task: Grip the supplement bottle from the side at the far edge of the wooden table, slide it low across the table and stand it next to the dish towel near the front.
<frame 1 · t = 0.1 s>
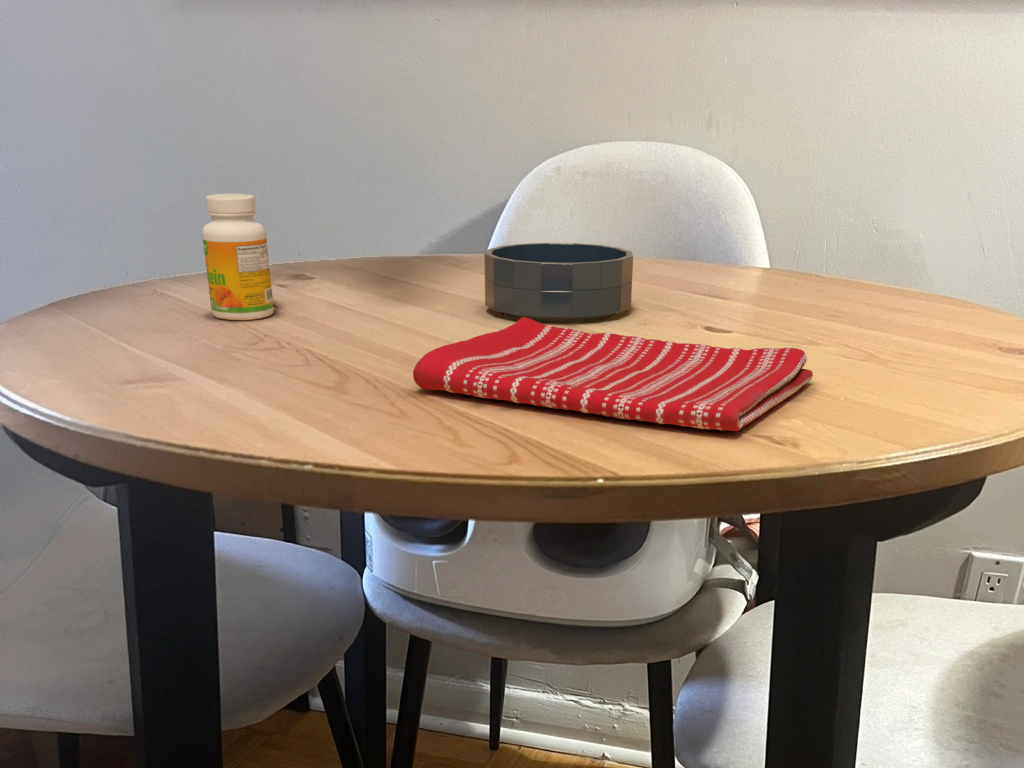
supplement bottle: (243, 317, 103), on the table
fruit bowl: (558, 310, 106), on the table
dish towel: (613, 391, 80), on the table
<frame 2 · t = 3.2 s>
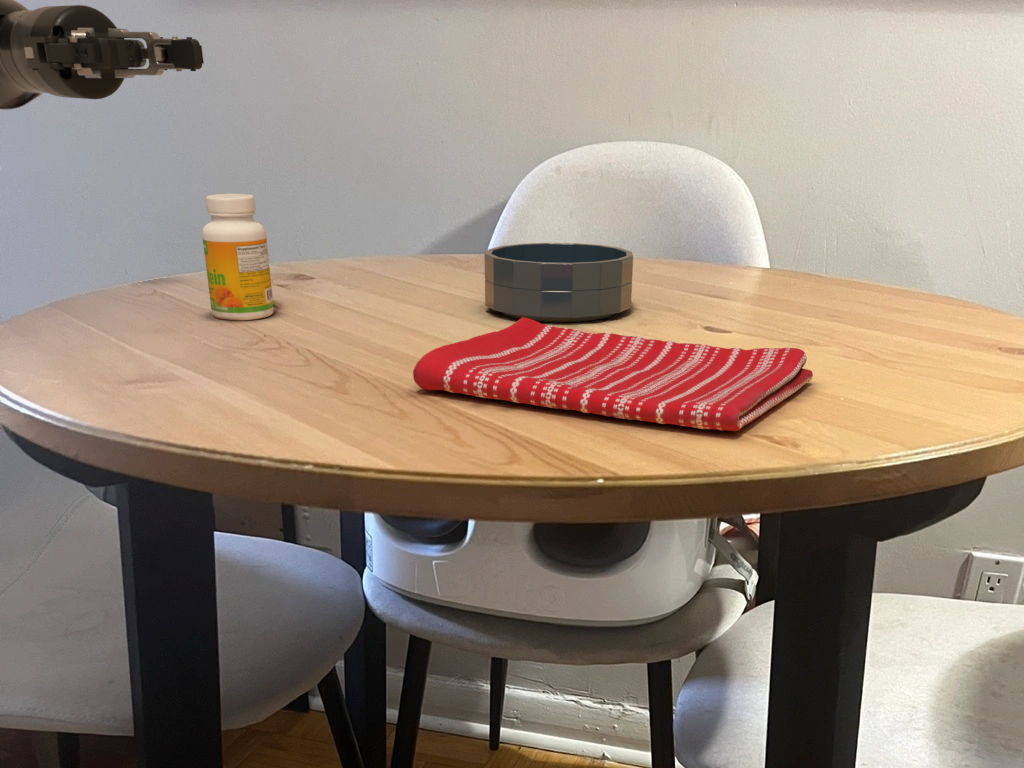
hand: (153, 54, 99), 20 cm above the table, tool horizontal, fingers open, 8 cm apart
nothing on the table moved.
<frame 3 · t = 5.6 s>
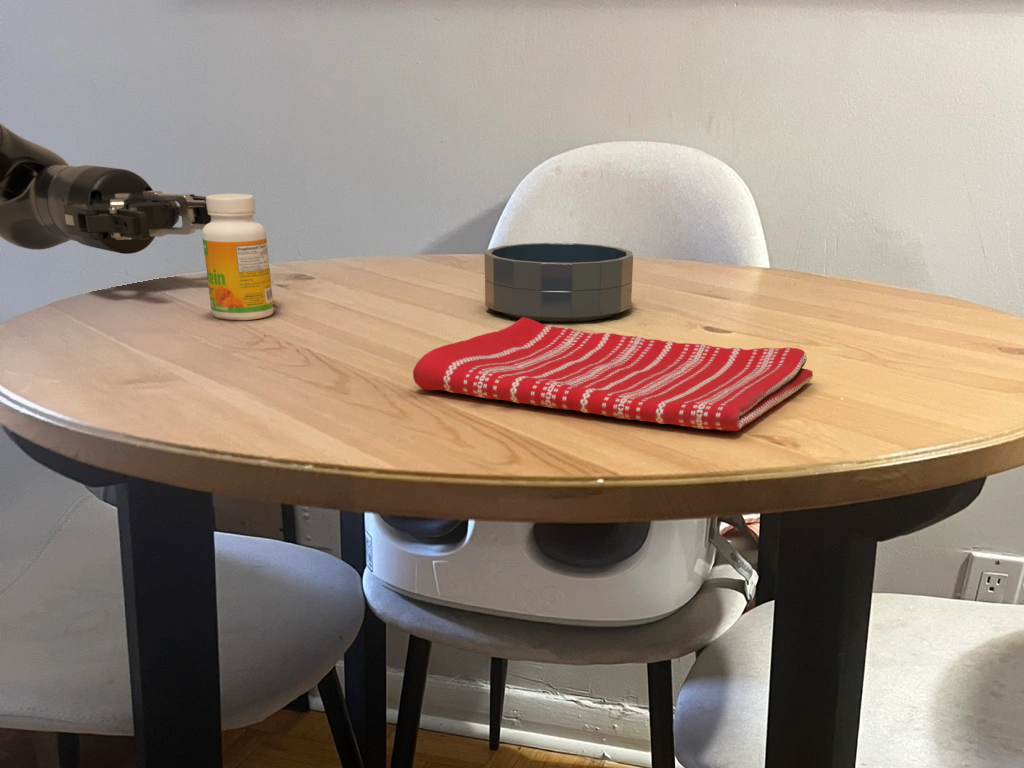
hand: (188, 222, 103), 7 cm above the table, tool horizontal, fingers open, 8 cm apart
nothing on the table moved.
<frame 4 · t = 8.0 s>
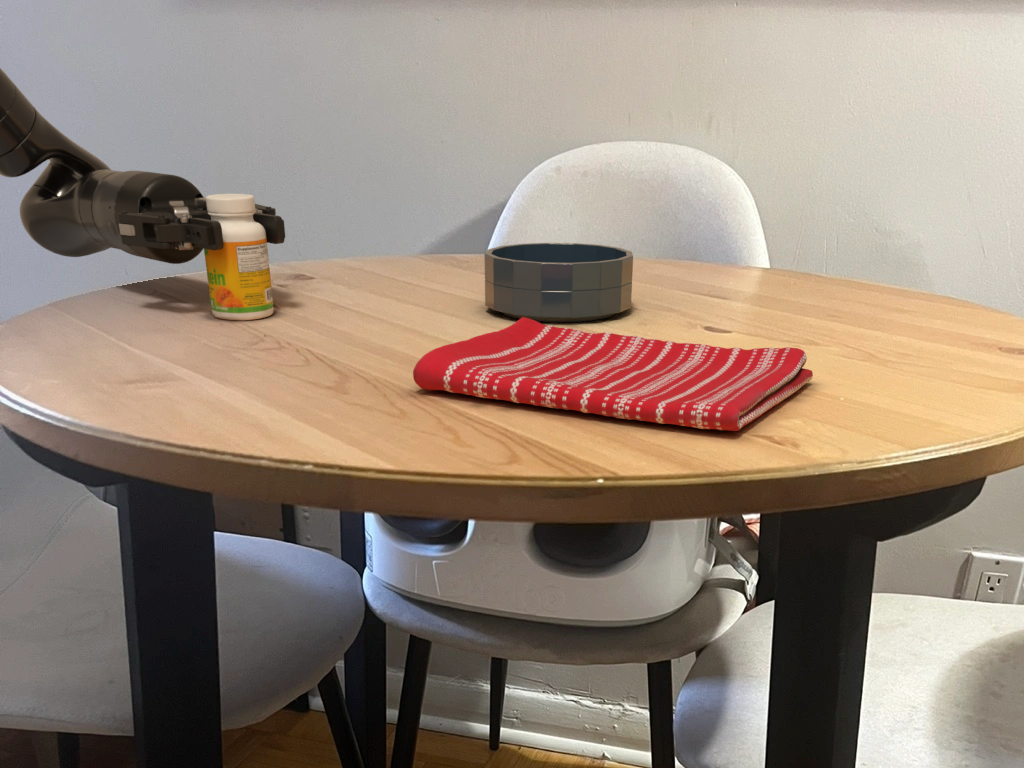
hand: (250, 233, 98), 7 cm above the table, tool horizontal, fingers closed on supplement bottle, 5 cm apart
supplement bottle: (243, 317, 103), on the table, touching gripper
everything else where it was.
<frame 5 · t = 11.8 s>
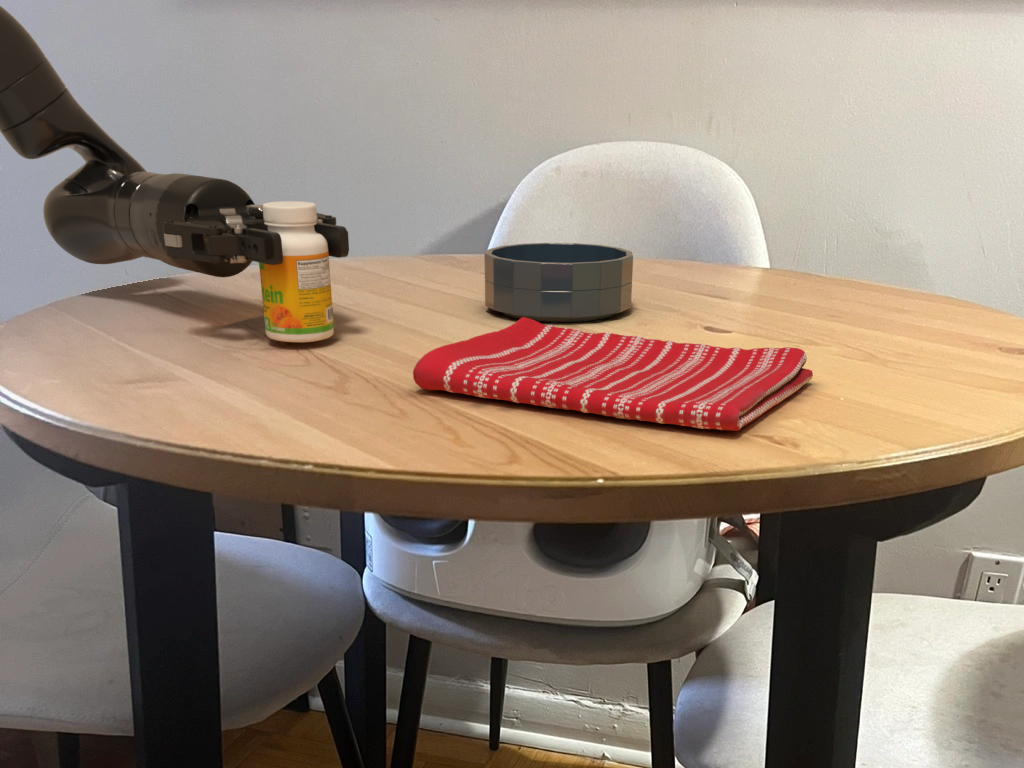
hand: (311, 246, 87), 8 cm above the table, tool horizontal, fingers closed on supplement bottle, 5 cm apart
supplement bottle: (300, 338, 92), on the table, touching gripper
everything else where it was.
when the fingers open (7 cm above the table, at t = 15.8 s): supplement bottle stays where it is, on the table.
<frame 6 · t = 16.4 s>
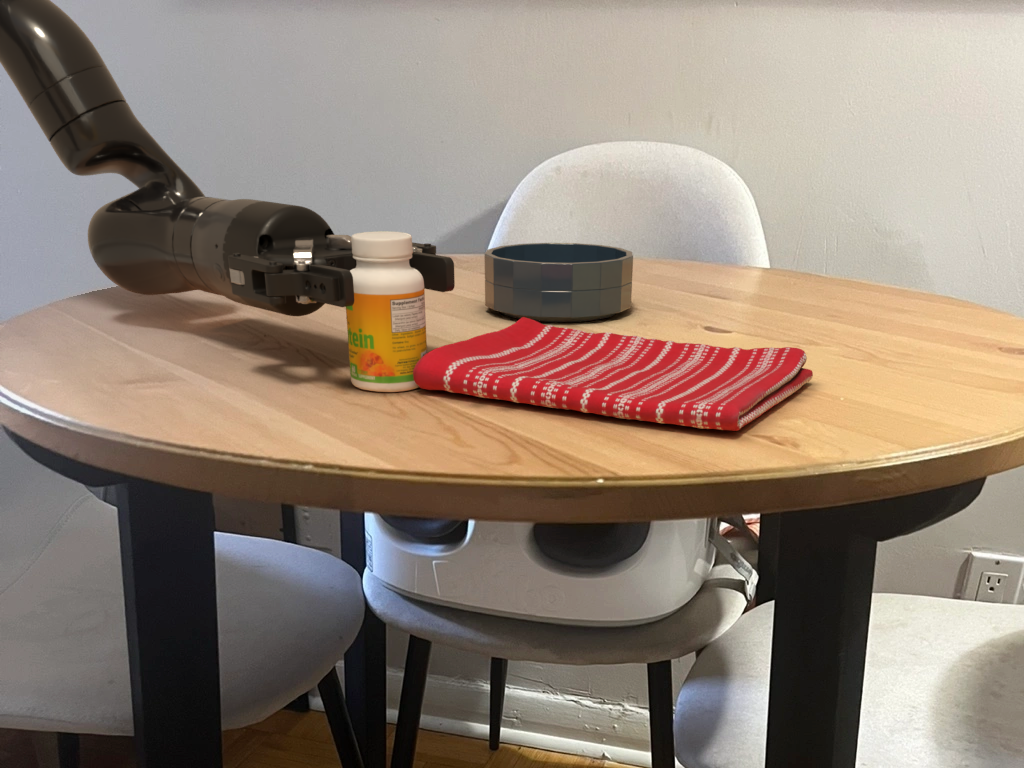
hand: (402, 282, 76), 7 cm above the table, tool horizontal, fingers open, 8 cm apart
supplement bottle: (389, 386, 81), on the table
everything else where it was.
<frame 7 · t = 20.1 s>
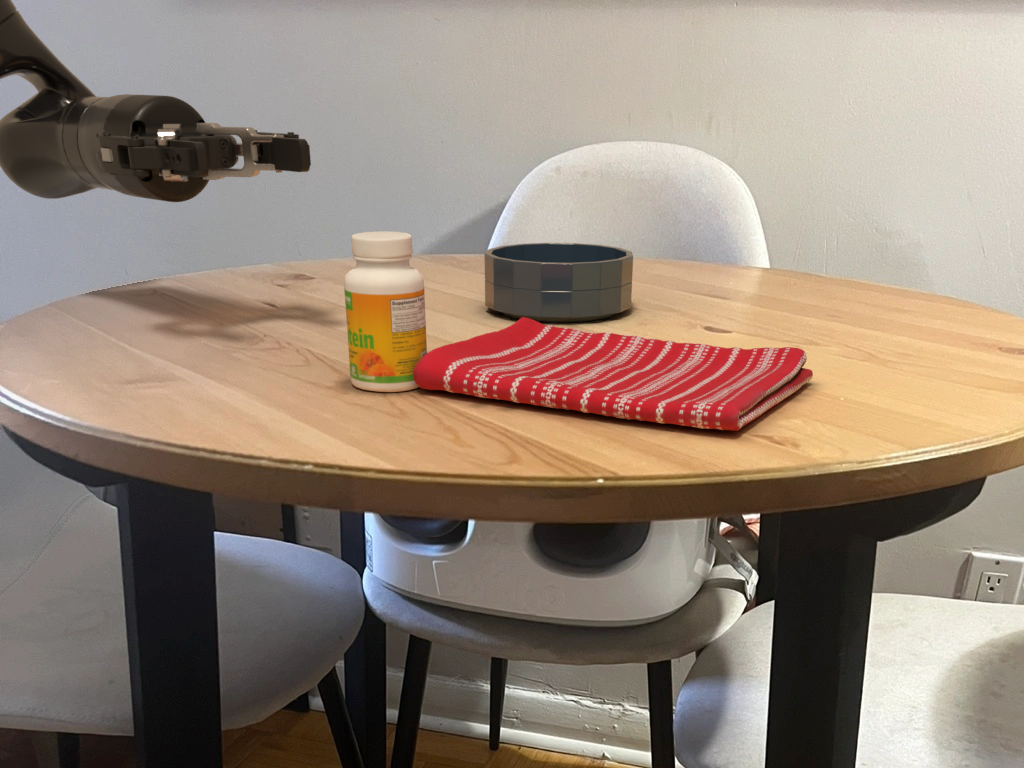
hand: (256, 157, 83), 14 cm above the table, tool horizontal, fingers open, 8 cm apart
nothing on the table moved.
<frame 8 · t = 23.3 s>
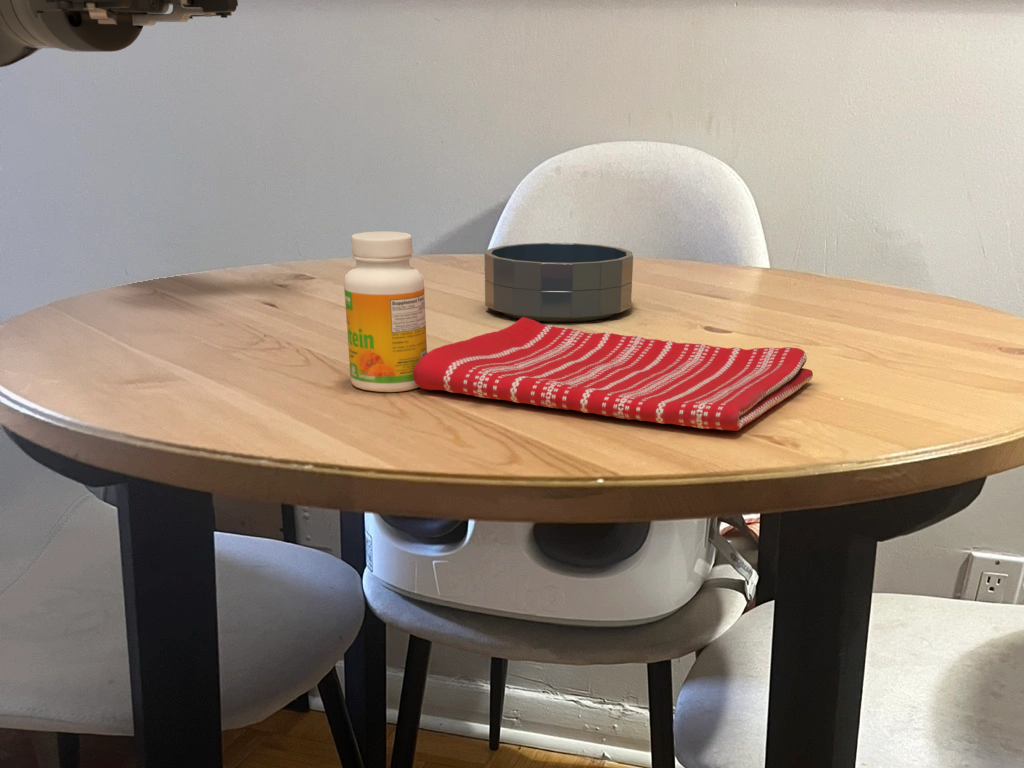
nothing on the table moved.
at the end: supplement bottle inside the target area on the table beside the dish towel (1.1 cm from its centre), on the table; supplement bottle tilted 0°; the gripper is holding nothing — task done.
